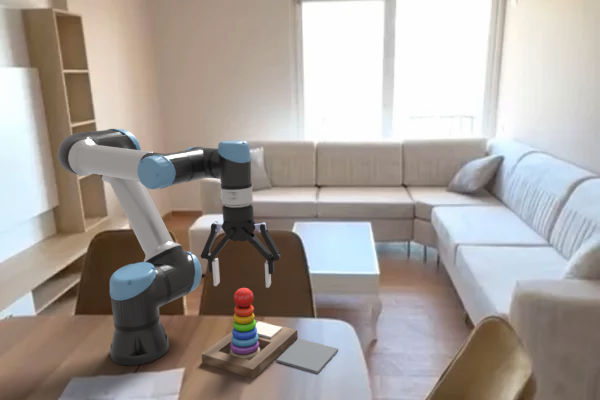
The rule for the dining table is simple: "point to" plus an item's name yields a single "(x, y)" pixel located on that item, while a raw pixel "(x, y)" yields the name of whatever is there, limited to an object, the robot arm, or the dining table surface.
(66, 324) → the dining table surface
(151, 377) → the dining table surface
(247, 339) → the stacking toy
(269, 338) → the walnut puzzle board
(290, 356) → the gray square plate
